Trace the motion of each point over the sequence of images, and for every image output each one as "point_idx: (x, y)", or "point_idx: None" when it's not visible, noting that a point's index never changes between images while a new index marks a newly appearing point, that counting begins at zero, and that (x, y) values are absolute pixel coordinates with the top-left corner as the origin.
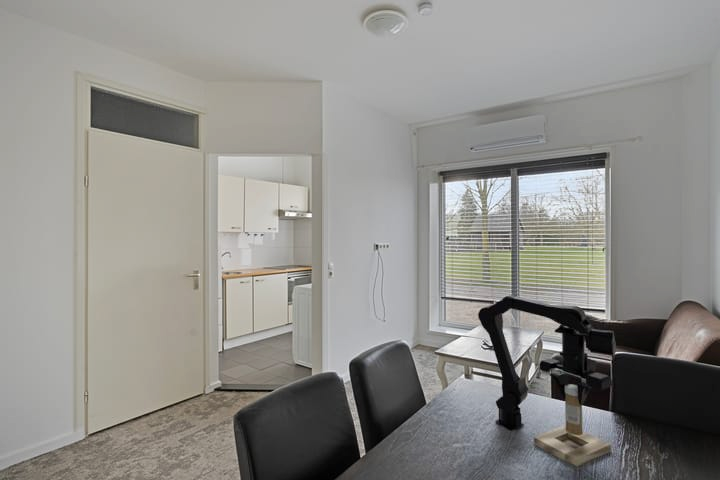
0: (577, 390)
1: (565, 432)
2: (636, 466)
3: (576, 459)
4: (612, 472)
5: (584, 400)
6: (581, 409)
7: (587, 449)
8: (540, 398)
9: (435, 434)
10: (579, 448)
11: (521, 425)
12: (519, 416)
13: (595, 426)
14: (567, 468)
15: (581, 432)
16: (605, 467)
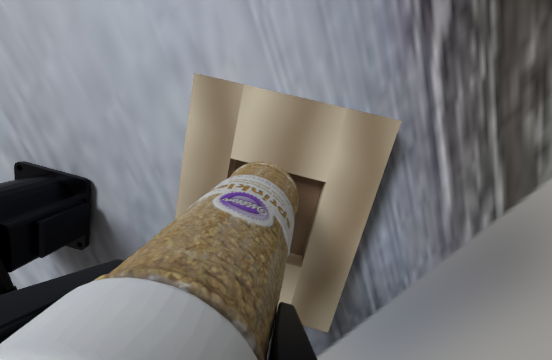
0: None
1: (223, 164)
2: (493, 169)
3: (327, 331)
4: (423, 269)
5: (307, 345)
6: (284, 269)
7: (336, 241)
8: None
9: None
10: (311, 255)
11: (85, 195)
12: (51, 233)
13: None
14: (308, 334)
15: (296, 208)
16: (398, 254)
